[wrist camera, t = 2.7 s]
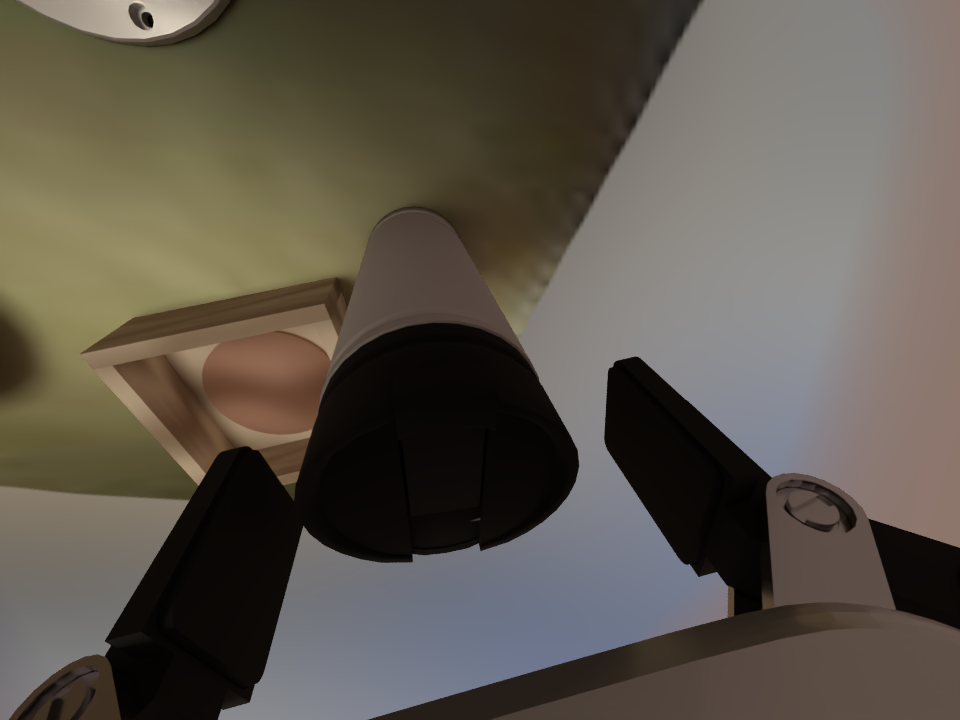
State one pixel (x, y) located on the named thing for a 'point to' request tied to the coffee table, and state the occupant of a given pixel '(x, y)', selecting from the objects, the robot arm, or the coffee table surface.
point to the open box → (228, 374)
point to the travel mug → (429, 410)
